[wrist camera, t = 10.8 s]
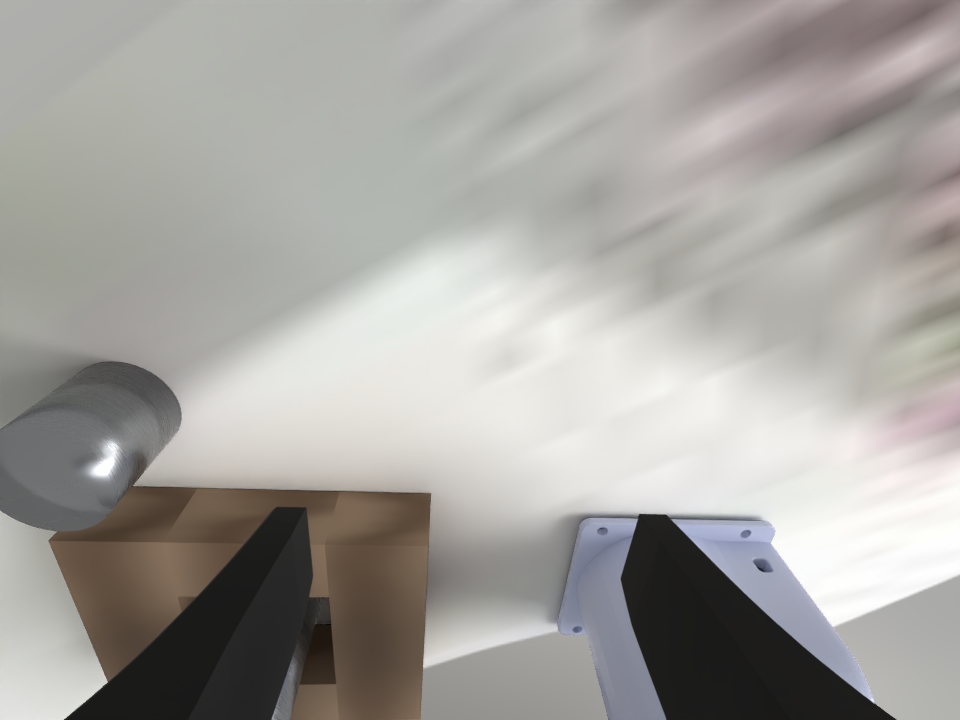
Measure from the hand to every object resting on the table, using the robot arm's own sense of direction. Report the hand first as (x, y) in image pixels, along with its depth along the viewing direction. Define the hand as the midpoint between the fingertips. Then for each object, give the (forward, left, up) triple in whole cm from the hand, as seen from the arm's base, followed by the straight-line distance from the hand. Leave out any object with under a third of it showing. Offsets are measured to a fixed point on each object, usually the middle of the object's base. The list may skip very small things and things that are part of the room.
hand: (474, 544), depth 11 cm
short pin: (+13, +3, -10) cm, 16 cm away
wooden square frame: (+8, +13, -9) cm, 18 cm away
